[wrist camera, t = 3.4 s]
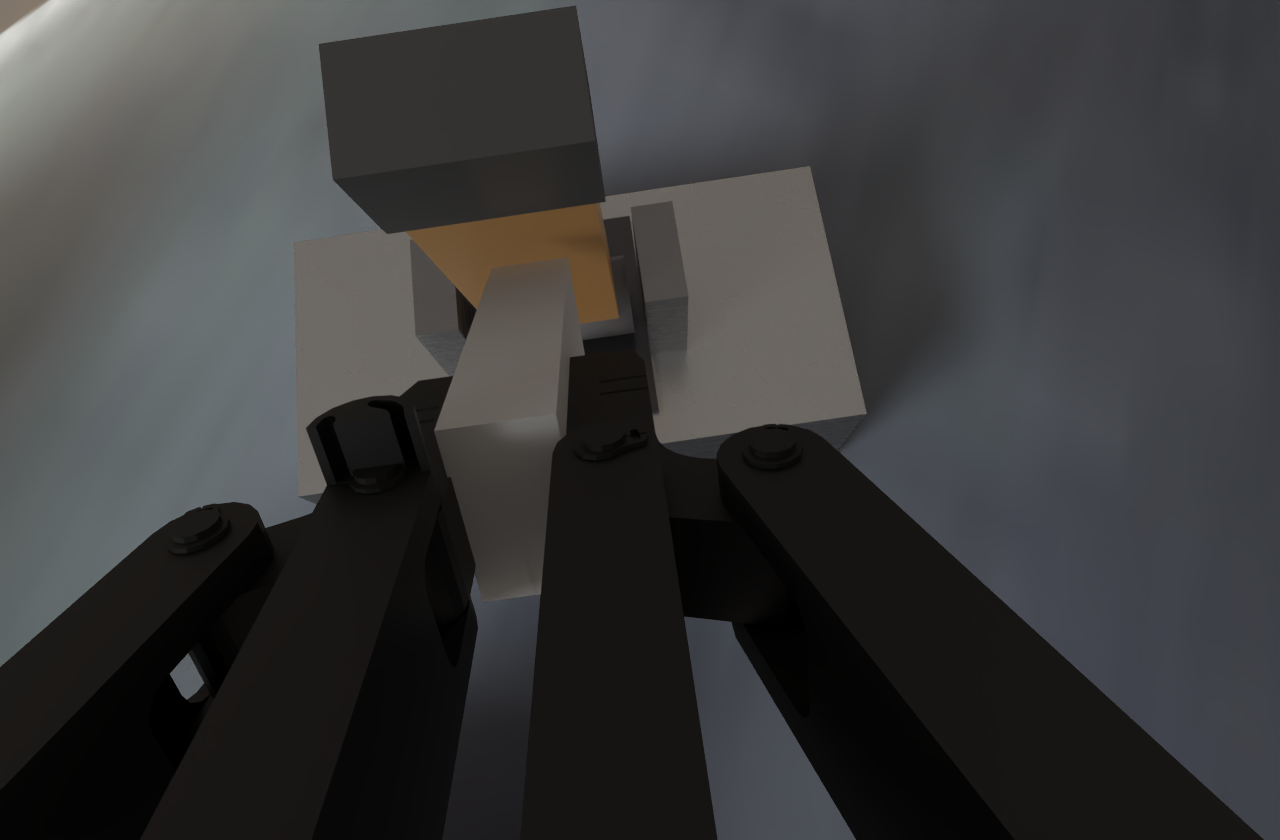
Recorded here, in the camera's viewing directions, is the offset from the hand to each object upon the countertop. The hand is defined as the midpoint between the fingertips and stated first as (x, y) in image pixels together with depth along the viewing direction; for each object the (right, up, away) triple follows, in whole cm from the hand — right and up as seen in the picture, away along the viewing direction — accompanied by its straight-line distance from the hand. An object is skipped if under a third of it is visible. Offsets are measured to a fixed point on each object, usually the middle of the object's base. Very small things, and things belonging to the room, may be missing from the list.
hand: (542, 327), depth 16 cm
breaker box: (0, 0, +16) cm, 16 cm away
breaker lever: (-1, +2, +10) cm, 10 cm away
